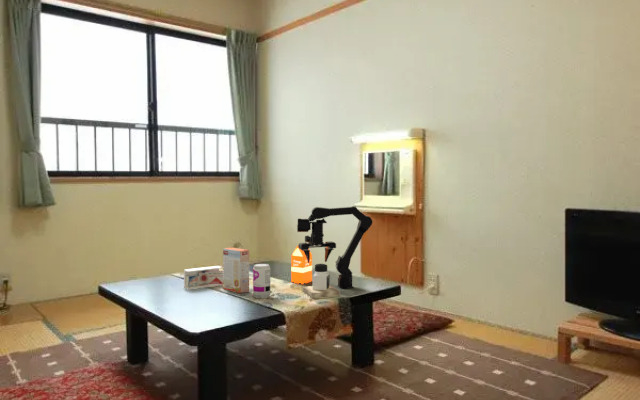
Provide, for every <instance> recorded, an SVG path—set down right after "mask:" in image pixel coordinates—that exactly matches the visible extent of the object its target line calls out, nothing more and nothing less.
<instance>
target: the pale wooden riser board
mask: <svg viewBox="0 0 640 400" xmlns="http://www.w3.org/2000/svg"><path fill="white" fill-rule="evenodd" d="M301 291H302V293H303V292H304V294H305V295H306V294H307V295H306V296H307V297H309V296H310V297H309V298H310V299H321V297H323V298H332V297H333V296H334V297H340V295H341V293H340V290H339V289H338V288H336V287H334V286H332V285H330V287H329V288H328V290H327V291H324V290H313V289H312V285H309V286H302V290H301Z"/></svg>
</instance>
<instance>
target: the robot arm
mask: <svg viewBox="0 0 640 400" xmlns="http://www.w3.org/2000/svg"><path fill="white" fill-rule="evenodd" d="M345 215H346V216H347V215H349V216H350V215H352V216H353V217H355V218H356V219H357V220H358V223H357V227H356V231H355V232H354V234H353V236H352V238H351V240H350V242H349V244H348V246H347V247H346V250H345V251H344V253H343V254H342V255H341V256H340V255H338V257H337V260H336V261H335V270H336V271H337V272H338V273H339V274H338V278H337V287H339V288H340V289H354V285H353V272H352V269H350V268H349V267H350V264H351V259H352V257H353V255H354V253H355V252H356V249H357V247H358V245H359V244H360V242H361V240H362V238H363V236H364V235H365V234H366V232H367V231H368V230H369V229H370V228H371V226H373V220H372V217H370V216H369V215H365V214H364V213H363V212H362V211H361V210H359V209H358V208H357V207H356V206H354V205H353V206H347V207H346V206H344V207H332V208H330V207H329V208H328V207H321V206H316V207H315V206H314V207H313V208H312V210H311V214H310V215H309V217H308V218H297V224H296V227H297V228H296V231H297V233H308V232H309V231H310V230H311V233H310V235H305V236H304V242H299V243H298V245H297V246H298V248H299V249H301V250H302V251H304V253H305V255H306V258H307V261H308V263H309V262H310V252H311V251H310V249H312V248H324V262H325V263H327V261H328V259H329V257H330V255H331V253H332V251H333V250H334V249H336V248H337V243H336V242H334V241H325V242H324V237H325V235H324V224H328V222H327V220H326V218H328V217H331V216H332V217H334V216H345ZM308 249H309V250H308Z"/></svg>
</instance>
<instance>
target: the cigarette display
mask: <svg viewBox="0 0 640 400" xmlns="http://www.w3.org/2000/svg"><path fill="white" fill-rule="evenodd" d="M220 269H223V267H222V266H221V265H213V266H204V267H195V268H186V269H183V288H185V289H187V290H194V289H203V288H211V287H216V286H217V287H218V286H223V270H220Z"/></svg>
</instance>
